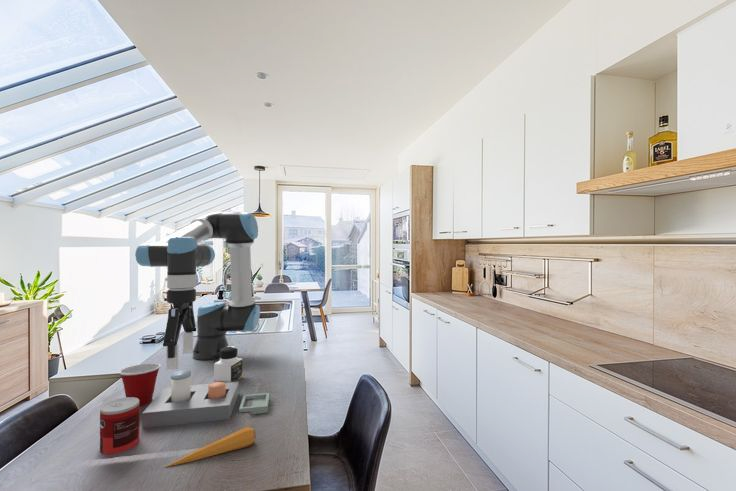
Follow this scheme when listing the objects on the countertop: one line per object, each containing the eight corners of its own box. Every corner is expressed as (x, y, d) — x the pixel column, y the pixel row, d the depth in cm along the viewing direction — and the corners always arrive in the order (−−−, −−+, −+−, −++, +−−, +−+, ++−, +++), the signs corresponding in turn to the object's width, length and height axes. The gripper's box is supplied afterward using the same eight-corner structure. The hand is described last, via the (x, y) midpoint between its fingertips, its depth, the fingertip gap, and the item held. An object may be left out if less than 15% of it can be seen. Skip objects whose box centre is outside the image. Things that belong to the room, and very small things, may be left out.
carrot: (254, 442, 85) (252, 423, 87) (257, 444, 82) (254, 425, 83) (164, 476, 75) (163, 455, 77) (163, 481, 72) (161, 458, 73)
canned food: (113, 439, 84) (113, 397, 84) (146, 438, 85) (146, 396, 85) (91, 459, 77) (91, 412, 77) (127, 457, 78) (127, 411, 77)
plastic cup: (163, 394, 110) (163, 358, 110) (157, 409, 100) (158, 370, 100) (123, 400, 105) (123, 363, 105) (113, 417, 95) (114, 376, 95)
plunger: (210, 401, 102) (210, 382, 102) (227, 400, 103) (227, 381, 103) (206, 409, 97) (206, 389, 97) (223, 407, 98) (223, 387, 98)
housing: (165, 403, 104) (165, 387, 104) (238, 396, 109) (238, 381, 109) (142, 431, 88) (142, 412, 88) (229, 422, 93) (229, 405, 93)
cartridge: (174, 406, 100) (174, 370, 100) (193, 405, 101) (193, 369, 101) (167, 415, 94) (168, 377, 94) (187, 413, 96) (188, 376, 96)
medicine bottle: (231, 384, 118) (231, 351, 118) (213, 382, 119) (213, 350, 119) (242, 376, 125) (242, 345, 125) (225, 375, 126) (226, 344, 126)
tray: (243, 401, 106) (243, 395, 106) (269, 398, 107) (269, 392, 107) (238, 415, 97) (238, 408, 97) (267, 412, 99) (267, 406, 99)
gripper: (181, 284, 109) (181, 348, 109) (149, 295, 84) (148, 377, 84) (206, 284, 110) (205, 347, 110) (181, 294, 86) (180, 375, 86)
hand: (180, 360), depth 97 cm, fingers open, 13 cm apart
